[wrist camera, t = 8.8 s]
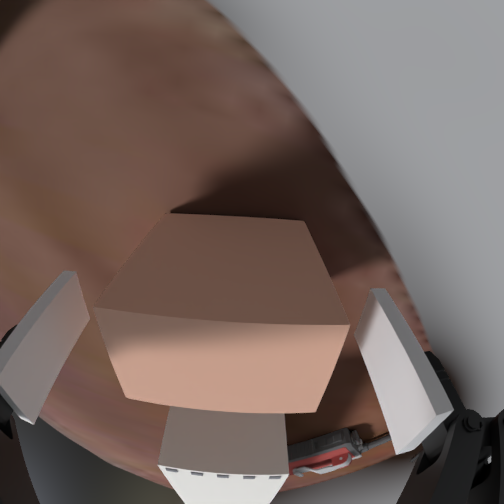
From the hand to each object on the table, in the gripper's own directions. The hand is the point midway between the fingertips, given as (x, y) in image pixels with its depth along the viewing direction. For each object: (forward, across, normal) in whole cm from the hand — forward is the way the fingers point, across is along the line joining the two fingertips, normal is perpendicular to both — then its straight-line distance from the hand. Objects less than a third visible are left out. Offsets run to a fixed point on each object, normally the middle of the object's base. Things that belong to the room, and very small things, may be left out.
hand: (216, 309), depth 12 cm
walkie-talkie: (+6, +15, -28) cm, 32 cm away
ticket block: (+6, 0, -24) cm, 24 cm away
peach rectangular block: (+6, 0, 0) cm, 6 cm away
